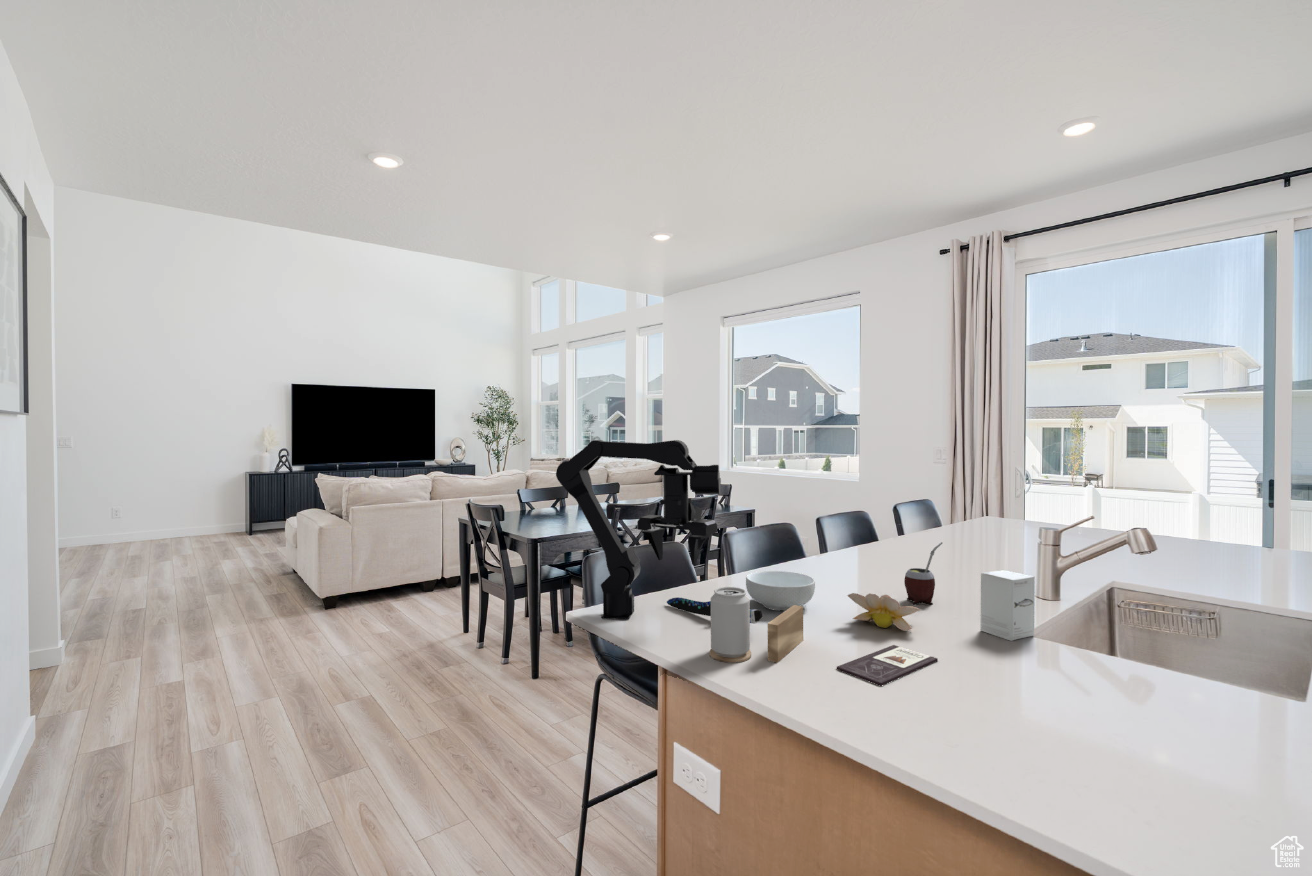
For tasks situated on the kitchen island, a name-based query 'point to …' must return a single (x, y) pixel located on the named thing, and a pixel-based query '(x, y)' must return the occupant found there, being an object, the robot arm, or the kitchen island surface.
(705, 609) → the knife
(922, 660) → the chocolate bar
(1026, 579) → the supplement box
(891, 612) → the decorative flower
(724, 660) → the coaster
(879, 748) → the kitchen island surface
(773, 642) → the plinth board
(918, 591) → the mate gourd
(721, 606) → the can
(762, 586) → the cereal bowl
